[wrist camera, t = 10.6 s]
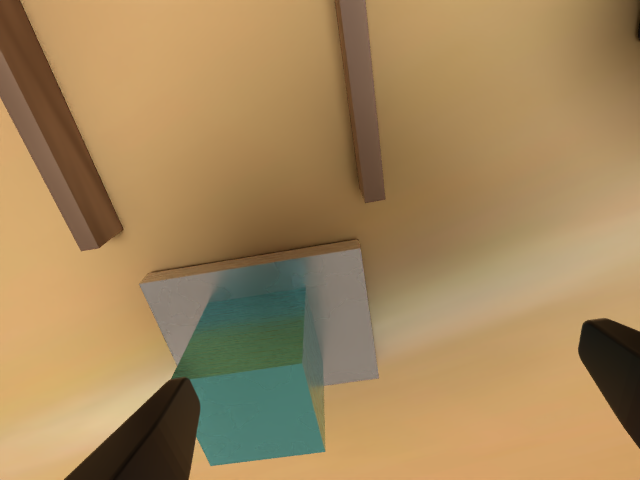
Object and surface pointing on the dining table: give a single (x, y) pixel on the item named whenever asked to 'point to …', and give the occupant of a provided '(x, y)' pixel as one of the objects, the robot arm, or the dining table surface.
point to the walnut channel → (70, 151)
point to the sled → (266, 344)
